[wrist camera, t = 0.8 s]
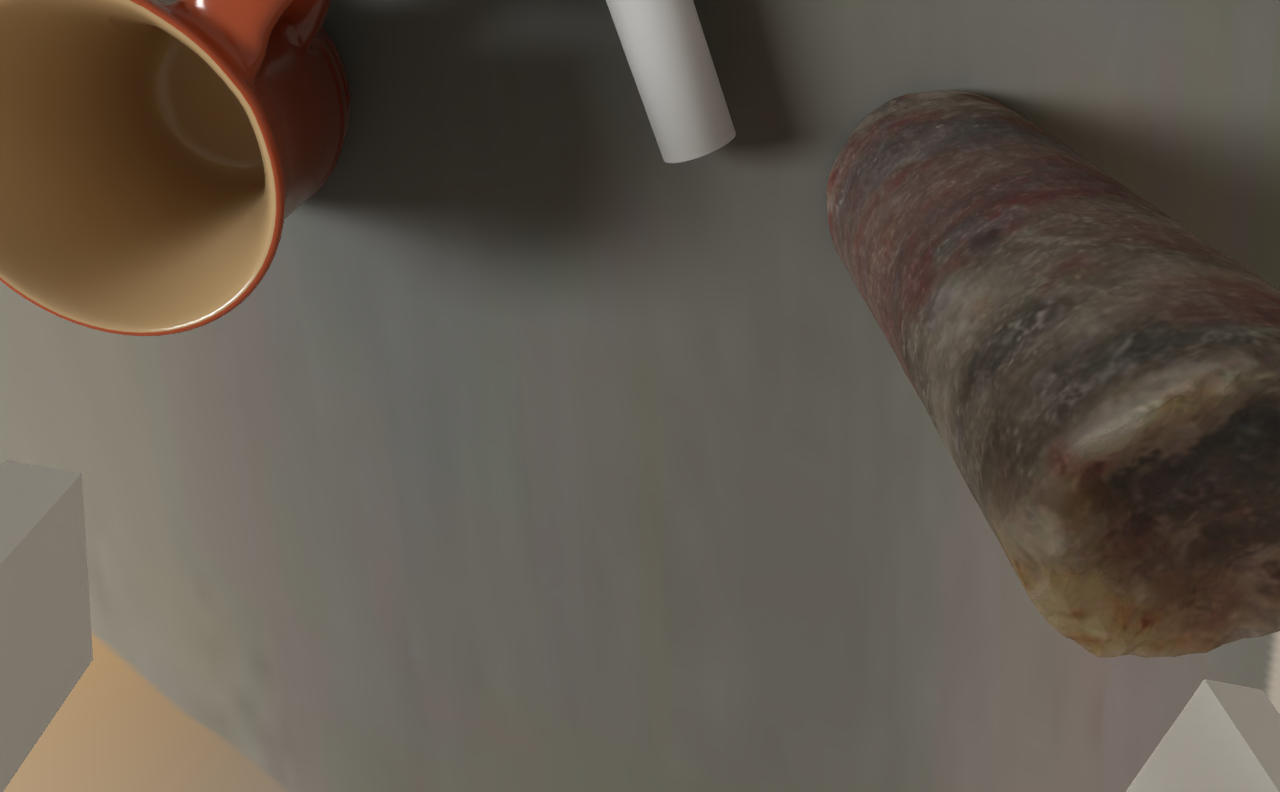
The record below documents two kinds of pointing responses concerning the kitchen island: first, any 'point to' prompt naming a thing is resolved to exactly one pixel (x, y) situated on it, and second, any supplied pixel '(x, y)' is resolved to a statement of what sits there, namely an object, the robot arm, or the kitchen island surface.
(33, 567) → the robot arm
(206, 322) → the mug
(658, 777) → the kitchen island surface
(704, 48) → the chuck block
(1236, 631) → the brown mottled cylinder
